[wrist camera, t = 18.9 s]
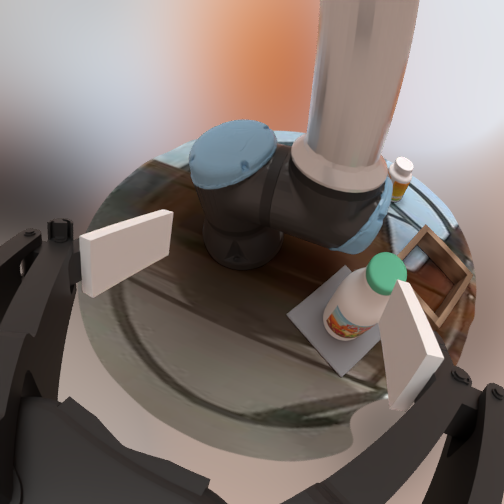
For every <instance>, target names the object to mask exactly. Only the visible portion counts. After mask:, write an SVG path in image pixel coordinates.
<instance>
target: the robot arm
mask: <svg viewBox="0 0 504 504" xmlns="http://www.w3.org/2000/svg"><path fill="white" fill-rule="evenodd" d="M418 6H419V0H320V11H319V24H318V36H317V47H316V58H315V67H314V77H313V86H312V95H311V104H310V112H309V120H308V127H307V133H305V134H303V135H301V136H300V137H298V138H297V139H296V140H295V142H294V143H293V145H292V147H291V146H287V145H283V144H279V143H277V138H276V136H275V134H274V132H273V131H272V130H271V129H269V127H268V126H267V125H266V124H264V123H261V122H258V121H254V120H234V121H229V122H226V123H222V124H221V125H218V126H215V127H213V128H211V129H210V130H208V131H206V132H205V133H204V134H203V135H201V136H200V137H199V138H198V139H197V141H196V142H195V143H194V145H193V146H192V148H191V151H190V154H189V165H190V169H191V178H192V181H193V183H194V186H195V189H196V191H197V194H198V197H199V200H200V202H201V205H202V208H203V211H204V213H205V221H204V225H203V239H204V243H205V245H206V248H207V250H208V252H209V254H210V255H211V256H212V258H213V259H214V260H215V261H217V262H218V263H219V264H221V265H223V266H225V267H228V268H231V269H236V270H249V269H254V268H257V267H260V266H262V265H264V264H266V263H268V262H269V261H270V260H272V259H273V258H274V257H275V256H276V254H277V253H278V252H279V250H280V248H281V246H282V243H283V239H284V233H286V234H289V235H292V236H294V237H297V238H300V239H303V240H306V241H309V242H312V243H314V244H317V245H320V246H323V247H326V248H328V249H330V250H333V251H336V250H338V251H341V252H345V253H349V254H358V253H360V252H362V251H364V250H365V249H366V248H367V247H368V246H369V245H370V244H371V243H372V241H373V240H374V238H375V237H376V235H377V234H378V232H379V230H380V228H381V226H382V224H383V219H384V217H385V216H386V214H387V212H388V209H389V206H390V203H391V198H392V192H393V184H392V181H391V179H390V178H389V177H387V174H388V168H387V164H386V161H385V160H384V158H383V156H382V155H381V152H382V149H383V146H384V143H385V140H386V137H387V134H388V130H389V127H390V124H391V121H392V117H393V114H394V111H395V107H396V104H397V100H398V96H399V93H400V89H401V86H402V82H403V78H404V74H405V69H406V65H407V61H408V57H409V53H410V48H411V43H412V38H413V33H414V28H415V23H416V18H417V12H418ZM172 220H173V212H171V211H167V210H164V209H163V210H159V211H156V212H152V213H149V214H146V215H142V216H139V217H136V218H132V219H129V220H126V221H123V222H120V223H116V224H113V225H110V226H107V227H104V228H101V229H98V230H95V231H92V232H89V233H86V234H83V235H81V236H80V237H79V238H78V239H75V240H73V221H72V220H70V219H64V218H61V219H53V220H50V221H49V222H47V223H48V241H47V242H46V241H42V238H41V231H40V230H37V229H33V228H32V229H31V228H30V229H26V230H24V231H22V232H20V233H18V234H17V235H16V236H14V237H13V238H11V239H10V240H8V241H7V242H6V243H4V244H3V245H1V246H0V504H227V503H226V502H225V501H224V500H223V499H222V498H220V497H219V496H218V495H217V494H216V493H214V492H213V491H211V490H210V489H208V485H209V482H210V479H208V478H206V477H204V476H201V475H199V474H196V473H194V472H191V471H190V470H187V469H185V468H183V467H181V466H179V465H177V464H175V463H173V462H170V461H168V460H164V459H161V458H157V457H153V456H151V455H147V454H144V453H141V452H138V451H135V450H132V449H129V448H127V447H125V446H123V445H122V444H121V443H120V442H119V441H118V440H117V439H116V438H115V437H114V436H113V435H112V434H111V433H110V432H109V430H108V429H107V428H106V427H105V426H104V425H103V424H102V423H101V422H100V420H99V419H98V418H97V417H96V416H94V415H93V414H92V413H90V412H89V411H87V410H86V409H85V408H84V407H82V406H81V405H80V404H79V403H77V402H76V401H75V400H74V399H72V398H71V397H68V398H67V399H66V400H65V401H64V402H63V403H61V402H58V398H57V397H58V387H59V377H60V370H61V363H62V357H63V351H64V344H65V339H66V334H67V329H68V324H69V320H70V315H71V311H72V306H73V302H74V298H75V294H76V283H77V282H79V281H81V282H82V292H84V293H85V294H87V295H89V296H90V297H92V298H94V297H95V296H97V295H99V294H100V293H102V292H104V291H106V290H107V289H109V288H111V287H112V286H114V285H116V284H118V283H119V282H121V281H123V280H125V279H126V278H128V277H130V276H132V275H133V274H135V273H137V272H139V271H140V270H142V269H144V268H146V267H148V266H149V265H151V264H153V263H155V262H157V261H158V260H160V259H162V258H164V257H166V256H167V255H169V246H170V237H171V228H172ZM20 264H22V270H23V273H22V274H21V273H20ZM378 324H379V330H380V336H381V342H382V349H383V355H384V363H385V370H386V378H387V387H388V397H389V408H390V409H393V410H399V411H404V412H406V411H407V410H408V408H409V407H410V406H411V405H412V403H413V402H414V403H415V404H414V405H413V406H412V407H411V408H410V409H409V410H408V411H407V412H406V414H404V415H403V416H402V417H401V418H400V419H399V420H398V421H397V422H396V423H395V424H394V425H393V426H392V427H391V428H390V429H389V430H388V431H387V432H385V433H384V434H383V435H382V436H381V437H380V438H379V439H378V440H377V441H375V442H374V443H373V444H372V445H371V446H370V447H368V448H367V449H366V450H365V451H363V452H362V453H361V454H360V455H358V456H357V457H356V458H355V459H353V460H352V461H351V462H349V463H348V464H347V465H345V466H344V467H343V468H341V469H340V470H338V471H337V472H336V473H334V474H333V475H331V476H330V477H329V478H327V479H326V480H324V481H322V482H321V483H316V484H314V485H312V486H311V487H309V488H307V489H306V490H304V491H302V492H300V493H299V494H297V495H295V496H294V497H292V498H290V499H288V500H286V501H285V502H283V503H281V504H385V503H386V502H387V501H388V500H389V499H390V498H391V497H392V496H393V495H394V494H395V492H397V490H398V489H399V488H400V487H401V486H402V485H403V484H404V483H405V482H406V481H407V480H408V478H409V477H410V476H411V475H412V474H413V473H414V471H415V470H416V469H417V467H418V466H419V465H420V464H421V462H422V461H423V460H424V459H425V458H426V456H427V455H428V454H429V452H430V451H431V450H432V448H433V447H434V445H435V444H436V443H437V441H438V440H439V438H440V437H441V436H442V434H443V433H445V434H447V438H446V441H445V444H444V448H443V451H442V454H441V457H440V460H439V463H438V465H437V468H436V471H435V473H434V476H433V479H432V481H431V484H430V486H429V488H428V491H427V493H426V495H425V498H424V500H423V502H422V504H501V502H502V498H503V493H504V389H503V387H501V386H499V385H497V384H495V383H489V384H488V385H487V386H486V387H485V389H484V390H483V391H480V390H477V389H475V388H473V387H471V385H472V381H471V378H470V376H469V375H468V374H467V373H466V372H465V371H464V370H463V369H461V368H459V367H457V366H454V365H453V362H452V360H451V358H450V355H449V353H448V352H447V348H446V346H445V344H444V342H443V340H442V338H441V337H440V336H439V334H438V333H437V332H436V331H433V330H432V328H431V326H430V324H429V322H428V320H427V318H426V315H425V313H424V311H423V309H422V307H421V305H420V303H419V301H418V299H417V297H416V295H415V293H414V291H413V289H412V287H411V285H410V283H408V282H404V281H401V280H398V279H397V281H396V283H395V286H394V288H393V291H392V293H391V295H390V298H389V300H388V302H387V304H386V307H385V309H384V311H383V313H382V315H381V318H380V320H379V322H378Z"/></svg>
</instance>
